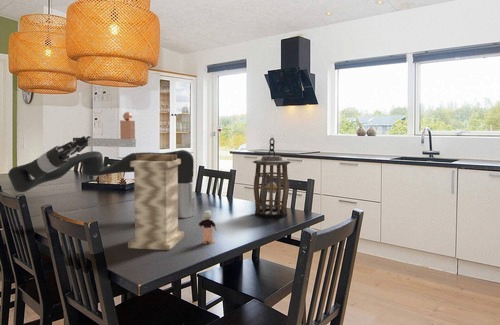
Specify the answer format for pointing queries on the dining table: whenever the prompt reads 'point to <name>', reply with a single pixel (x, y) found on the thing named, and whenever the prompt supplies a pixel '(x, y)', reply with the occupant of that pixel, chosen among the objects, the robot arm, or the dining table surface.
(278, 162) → the lantern
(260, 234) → the dining table surface
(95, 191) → the dining table surface
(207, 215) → the grandmother figurine
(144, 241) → the display stand
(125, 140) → the rod
